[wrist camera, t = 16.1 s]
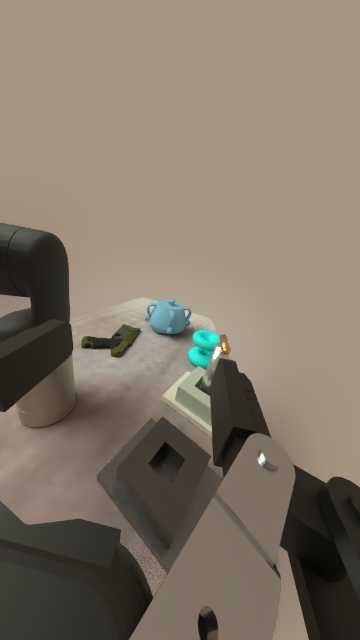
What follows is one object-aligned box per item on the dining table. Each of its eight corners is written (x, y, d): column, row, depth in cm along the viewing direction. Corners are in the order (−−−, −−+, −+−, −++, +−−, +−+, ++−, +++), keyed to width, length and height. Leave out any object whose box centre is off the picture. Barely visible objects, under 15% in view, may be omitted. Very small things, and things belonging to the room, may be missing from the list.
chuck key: (208, 413, 39) (235, 352, 32) (195, 409, 39) (219, 347, 32) (208, 390, 45) (231, 335, 37) (196, 387, 45) (217, 331, 38)
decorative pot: (167, 318, 86) (172, 292, 80) (191, 332, 76) (198, 304, 71) (140, 324, 74) (143, 295, 68) (165, 342, 65) (170, 310, 59)
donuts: (188, 335, 52) (200, 325, 61) (182, 361, 56) (194, 348, 65) (219, 348, 49) (227, 336, 57) (210, 375, 53) (218, 359, 61)
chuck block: (97, 479, 26) (96, 458, 24) (150, 422, 36) (154, 403, 33) (181, 592, 19) (193, 578, 17) (220, 483, 29) (231, 464, 26)
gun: (106, 324, 70) (141, 332, 70) (75, 349, 52) (122, 360, 52) (106, 318, 69) (142, 327, 69) (75, 342, 51) (122, 354, 51)
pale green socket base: (161, 399, 41) (165, 381, 39) (186, 374, 51) (190, 358, 49) (221, 445, 34) (230, 426, 32) (237, 406, 44) (245, 390, 41)
